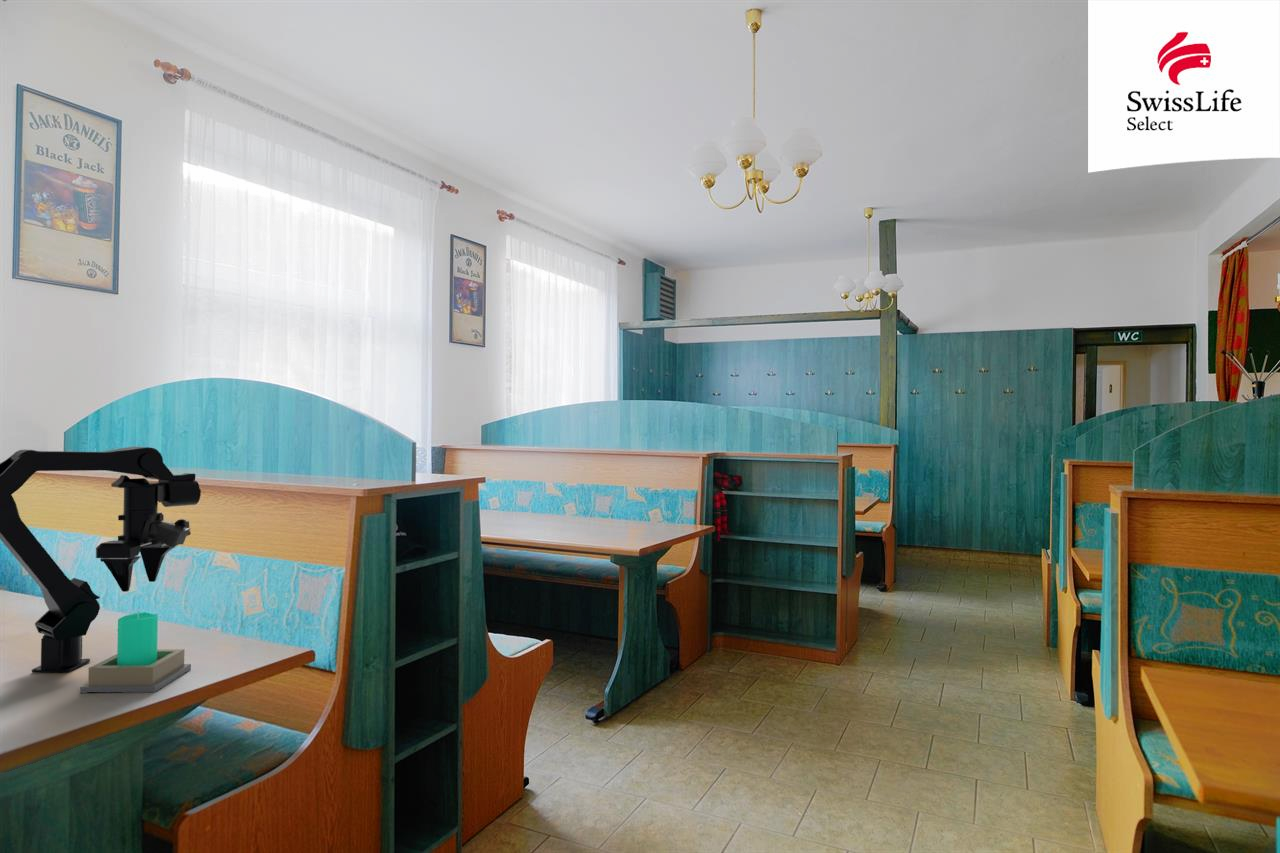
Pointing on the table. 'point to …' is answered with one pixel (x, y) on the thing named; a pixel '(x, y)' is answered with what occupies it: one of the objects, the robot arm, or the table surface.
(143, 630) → the candle
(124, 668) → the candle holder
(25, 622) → the table surface
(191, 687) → the table surface
